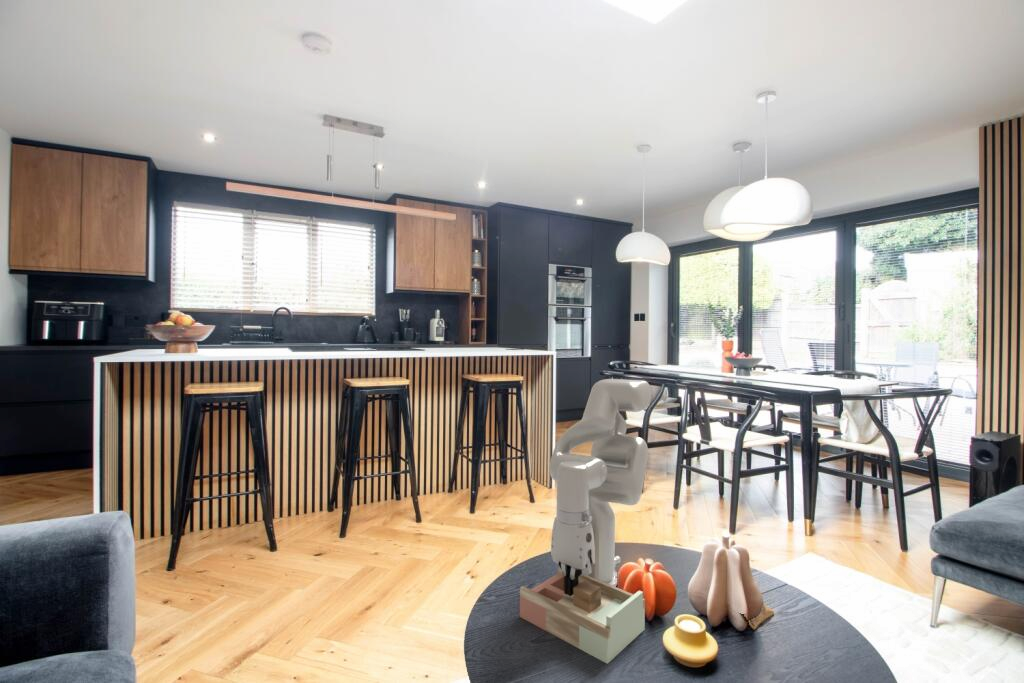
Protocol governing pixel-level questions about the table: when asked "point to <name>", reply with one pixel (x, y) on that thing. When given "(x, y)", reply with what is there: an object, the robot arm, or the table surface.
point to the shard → (761, 617)
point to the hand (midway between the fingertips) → (571, 592)
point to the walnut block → (587, 596)
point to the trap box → (585, 616)
